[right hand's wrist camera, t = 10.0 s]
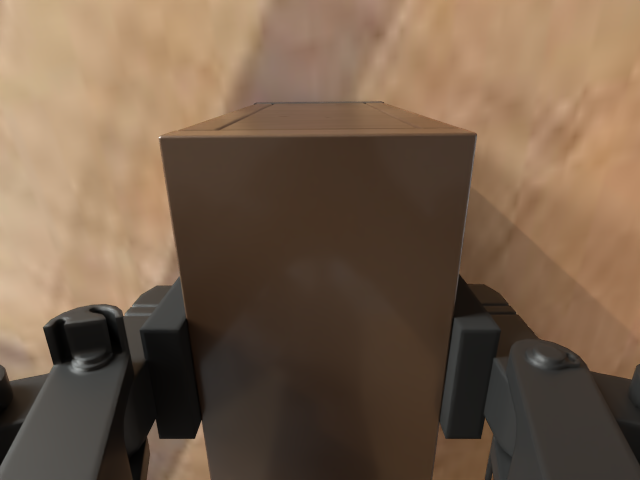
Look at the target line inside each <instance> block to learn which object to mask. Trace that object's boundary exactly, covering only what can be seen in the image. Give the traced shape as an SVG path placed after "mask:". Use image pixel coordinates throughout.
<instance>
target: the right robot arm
mask: <svg viewBox="0 0 640 480" xmlns="http://www.w3.org/2000/svg"><path fill="white" fill-rule="evenodd" d="M43 329H44V333H45V336H46V340H47V343H48V347H49V350H50V354H51V357H52V361H53V364H54V366H53V368H52V369H51V371H50V373H48V374H44V375H39V376H34V377H29V378H24V379H19V380H14V381H9V379H8V376H7V373H6V370H5V368H4V367H3V366H1V365H0V480H146V479H147V472H148V464H149V457H150V451H149V444H148V439H147V435H148V433H149V431H150V429H151V427H152V425H153V423H154V421H155V419H156V423H157V428H158V433H159V439H195V437H196V434H197V431H198V428H199V426H200V423H201V420H202V419H201V412H200V405H199V399H198V392H197V386H196V379H195V373H194V366H193V359H192V353H191V346H190V340H189V333H188V326H187V320H186V313H185V307H184V300H183V294H182V287H181V281H180V276H179V278H178V279H177V280H176V282H175V283H174V284H173V286H155V287H154V288H152V289H150V290H149V291H147V292H145V293H143V294H142V295H141V296H140V297H139V298H138V299H137V300H136V302H135V303H134V304H133V305H132V307H130V309H129V310H128V311H127V312H126V313H125V316H123V313H122V310H120V309H119V308H118V307H116V306H112V305H107V304H100V305H89V306H84V307H79V308H75V309H73V310H70V311H67V312H64V313H62V314H60V315H59V316H57V317H55V318H53V319H51V320H50V321H49V322H48V323H47V324H46V325H45V326H44V327H43ZM485 418H486V420H487V422H488V424H489V426H490V428H491V430H492V432H493V439H492V444H491V449H490V454H489V459H488V464H487V469H486V475H485V480H491V477H492V473H493V478H494V480H640V364H639V365H637V366H636V369H635V372H634V375H633V378H632V380H631V379H626V378H621V377H616V376H611V375H606V374H600V373H596V372H592V371H589V369H588V367H587V365H586V364H585V362H584V361H583V360H582V359H581V358H580V357H579V356H578V355H577V354H575V353H574V352H572V351H571V350H569V349H568V348H565V347H563V346H561V345H558V344H556V343H553V342H549V341H544V340H540V339H539V338H538V337H537V336H536V335H535V334H534V332H533V331H532V330H531V329H530V328H529V327H528V326H527V324H526V323H525V322H524V321H523V320H522V319H521V318H520V316H519V315H516V312H515V311H514V310H513V308H512V307H511V306H508V303H507V302H506V300H505V299H504V298H503V297H502V296H501V295H500V294H499V293H498V292H496V291H494V290H493V289H491V288H489V287H488V286H486V285H484V284H466V282H465V281H464V280H463V278H462V277H461V276H460V274H459V277H458V284H457V292H456V300H455V307H454V315H453V323H452V330H451V338H450V346H449V353H448V361H447V368H446V376H445V384H444V391H443V399H442V407H441V414H440V424H441V427H442V430H443V433H444V435H445V438H446V439H481V436H482V430H483V425H484V420H485Z"/></svg>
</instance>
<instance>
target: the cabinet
mask: <svg viewBox="0 0 640 480" xmlns="http://www.w3.org/2000/svg"><path fill="white" fill-rule="evenodd" d="M476 139H477V134H476V133H474V132H471V131H468V130H465V129H462V128H458V127H455V126H452V125H449V124H446V123H443V122H440V121H437V120H434V119H431V118H428V117H424V116H421V115H418V114H415V113H412V112H409V111H406V110H403V109H400V108H397V107H394V106H391V105H388V104H385V103H384V102H276V103H255V104H254V105H252V106H249V107H246V108H243V109H240V110H237V111H234V112H231V113H228V114H225V115H222V116H219V117H216V118H213V119H211V120H208V121H205V122H202V123H199V124H196V125H193V126H190V127H187V128H184V129H181V130H179V131H173V132H170V133H167V134H164V135H161V136H159V143H160V149H161V156H162V162H163V169H164V176H165V182H166V189H167V195H168V202H169V208H170V215H171V222H172V228H173V235H174V241H175V248H176V254H177V261H178V268H179V274H180V281H181V287H182V294H183V300H184V307H185V313H186V320H187V326H188V333H189V340H190V346H191V353H192V359H193V366H194V373H195V379H196V386H197V392H198V399H199V405H200V412H201V419H202V425H203V432H204V438H205V445H206V451H207V458H208V464H209V471H210V478H211V480H432V476H433V468H434V460H435V453H436V445H437V437H438V430H439V422H440V414H441V407H442V399H443V391H444V384H445V376H446V368H447V361H448V353H449V346H450V338H451V330H452V323H453V315H454V307H455V300H456V292H457V284H458V277H459V269H460V261H461V254H462V246H463V238H464V231H465V223H466V216H467V208H468V200H469V193H470V185H471V177H472V170H473V162H474V154H475V147H476Z"/></svg>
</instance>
